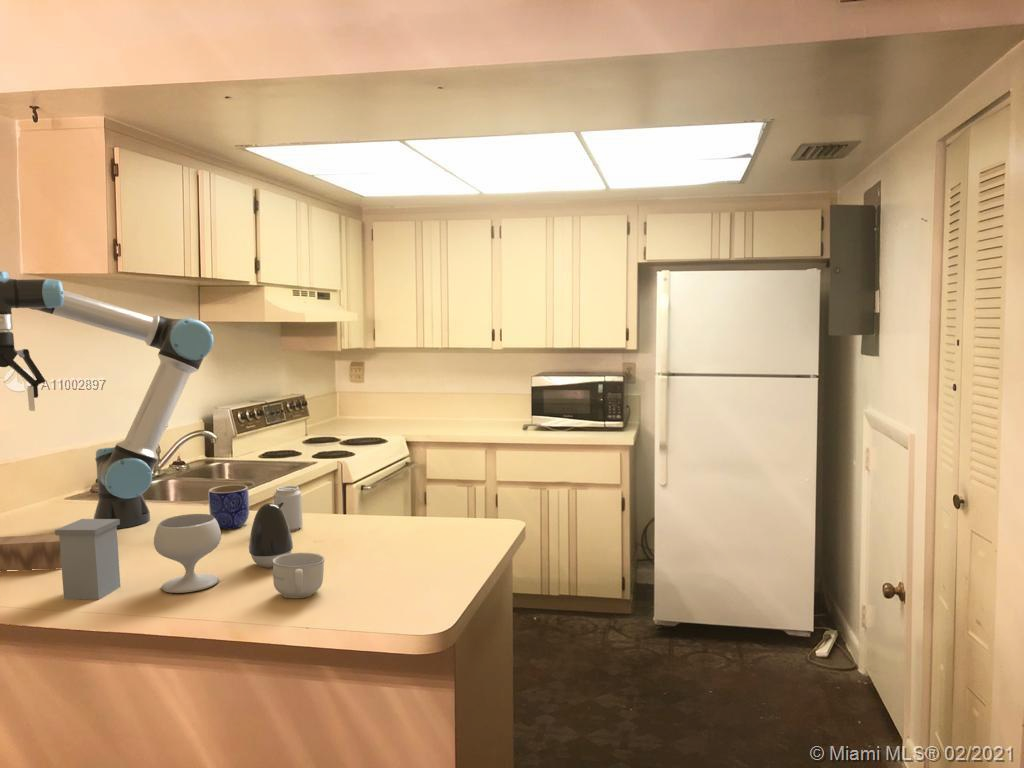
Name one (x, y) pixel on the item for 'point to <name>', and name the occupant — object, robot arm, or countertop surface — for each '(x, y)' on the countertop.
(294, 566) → the teacup
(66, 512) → the countertop surface
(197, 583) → the chalice
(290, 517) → the can
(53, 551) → the walnut handle block
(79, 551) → the stand
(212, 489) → the planter
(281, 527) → the pump dispenser
